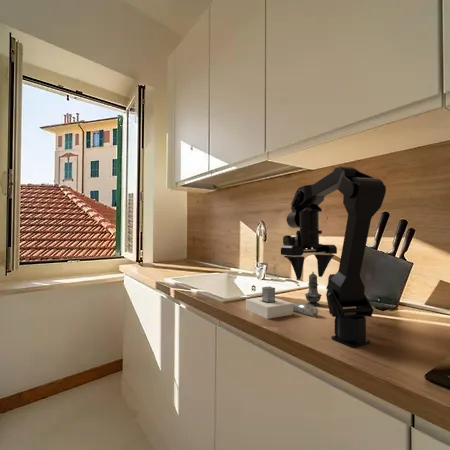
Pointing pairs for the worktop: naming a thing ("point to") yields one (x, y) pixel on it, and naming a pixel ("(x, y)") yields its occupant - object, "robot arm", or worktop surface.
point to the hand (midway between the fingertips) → (309, 277)
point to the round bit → (305, 309)
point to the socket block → (269, 308)
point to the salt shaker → (313, 291)
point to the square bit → (268, 294)
